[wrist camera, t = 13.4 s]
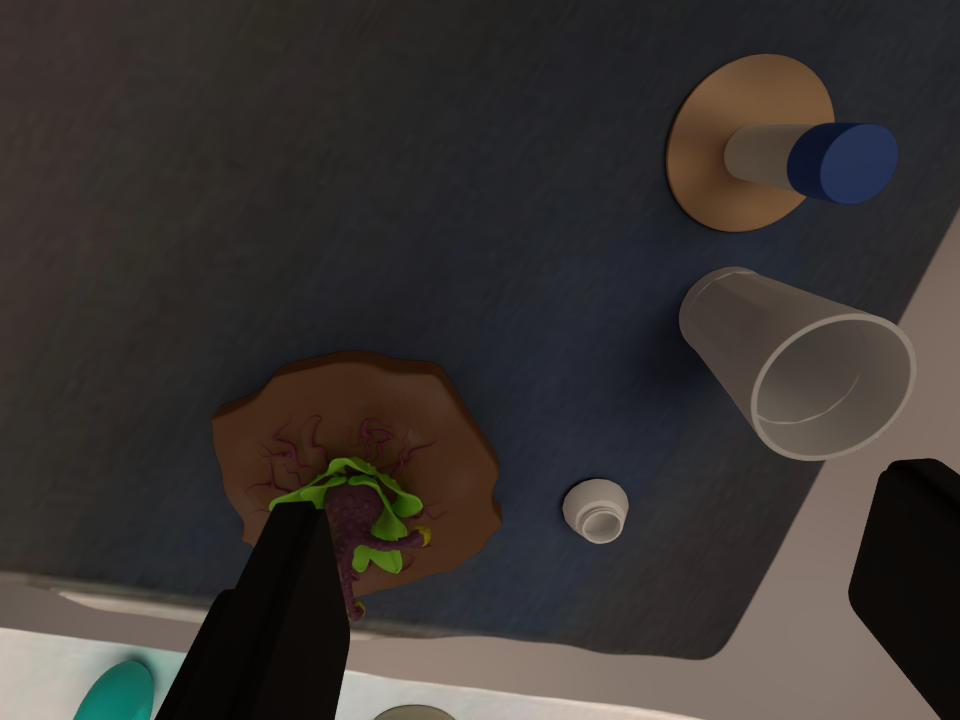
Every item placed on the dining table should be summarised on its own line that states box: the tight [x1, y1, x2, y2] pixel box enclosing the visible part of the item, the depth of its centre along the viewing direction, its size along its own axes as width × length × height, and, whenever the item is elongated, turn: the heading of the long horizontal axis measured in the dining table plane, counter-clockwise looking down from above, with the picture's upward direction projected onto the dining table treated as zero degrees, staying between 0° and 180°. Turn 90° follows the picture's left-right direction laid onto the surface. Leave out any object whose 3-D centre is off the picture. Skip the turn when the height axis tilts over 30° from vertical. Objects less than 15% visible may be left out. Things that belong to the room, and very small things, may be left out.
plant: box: [211, 351, 502, 622], centre depth 37 cm, size 20×20×11 cm
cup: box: [679, 267, 917, 461], centre depth 33 cm, size 8×8×12 cm
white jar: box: [562, 479, 629, 544], centre depth 43 cm, size 5×3×5 cm
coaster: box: [666, 54, 834, 232], centre depth 34 cm, size 10×10×1 cm
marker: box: [724, 123, 898, 205], centre depth 29 cm, size 3×3×10 cm
